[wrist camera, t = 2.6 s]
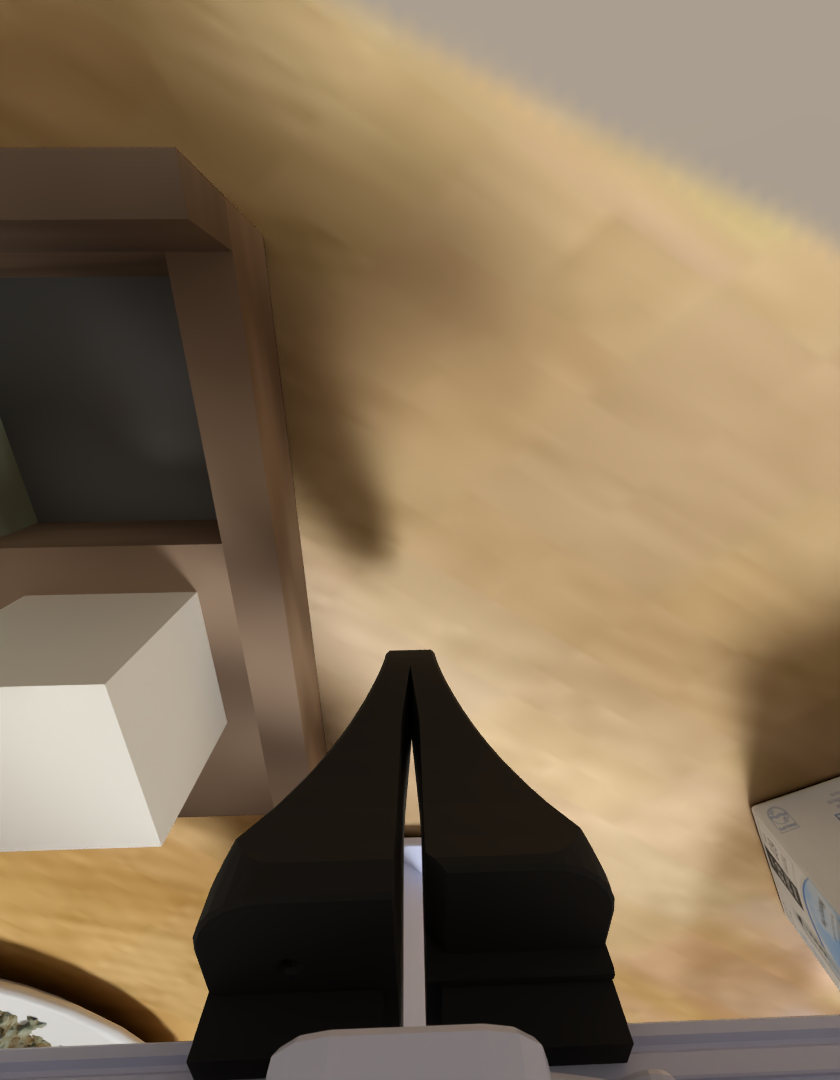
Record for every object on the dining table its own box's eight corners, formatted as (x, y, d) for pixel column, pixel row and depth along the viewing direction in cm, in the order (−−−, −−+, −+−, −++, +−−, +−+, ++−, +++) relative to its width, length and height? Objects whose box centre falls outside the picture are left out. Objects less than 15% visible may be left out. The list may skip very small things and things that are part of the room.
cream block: (227, 722, 14) (161, 846, 10) (77, 727, 14) (-44, 853, 10) (197, 591, 12) (105, 684, 9) (25, 595, 12) (-145, 690, 8)
